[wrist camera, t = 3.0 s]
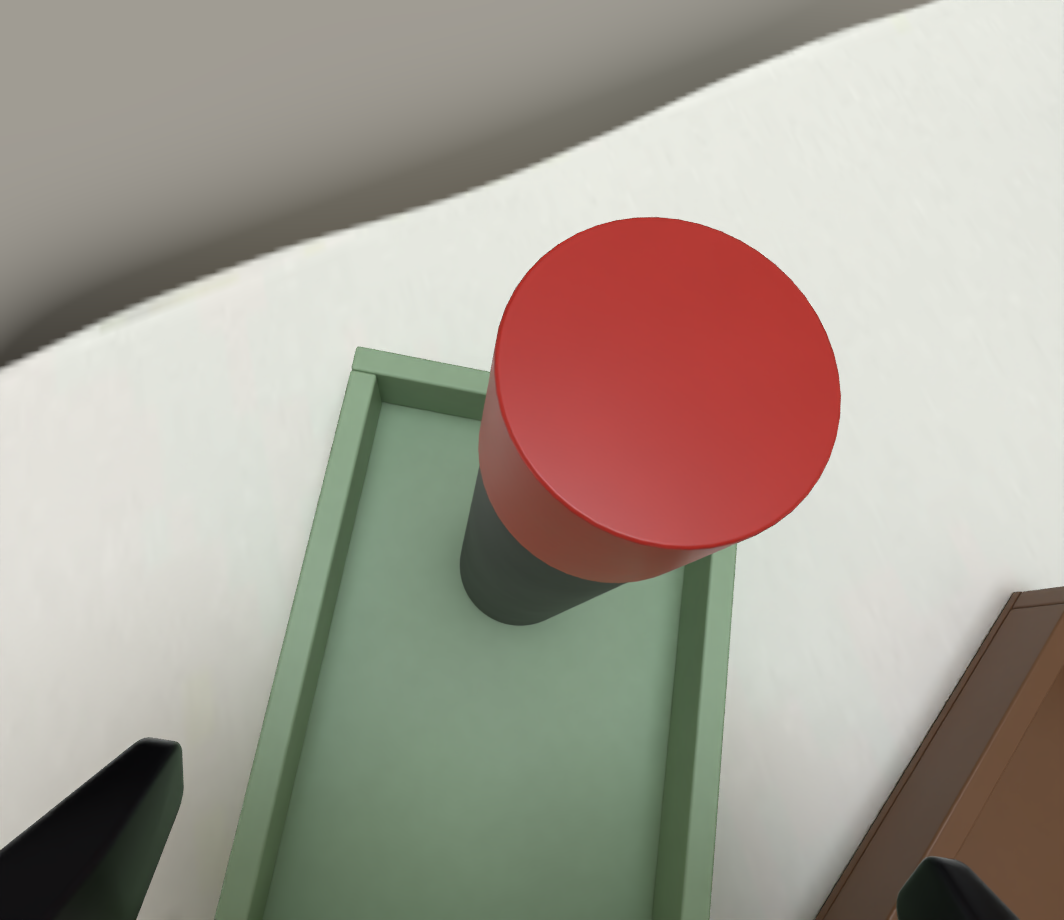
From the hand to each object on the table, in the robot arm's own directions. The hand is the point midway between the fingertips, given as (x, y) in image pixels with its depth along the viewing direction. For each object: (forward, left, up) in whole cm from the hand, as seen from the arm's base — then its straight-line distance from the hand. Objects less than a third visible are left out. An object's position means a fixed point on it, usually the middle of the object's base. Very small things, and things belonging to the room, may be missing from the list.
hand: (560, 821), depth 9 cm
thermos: (+2, +4, -11) cm, 12 cm away
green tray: (+1, +2, -11) cm, 12 cm away
